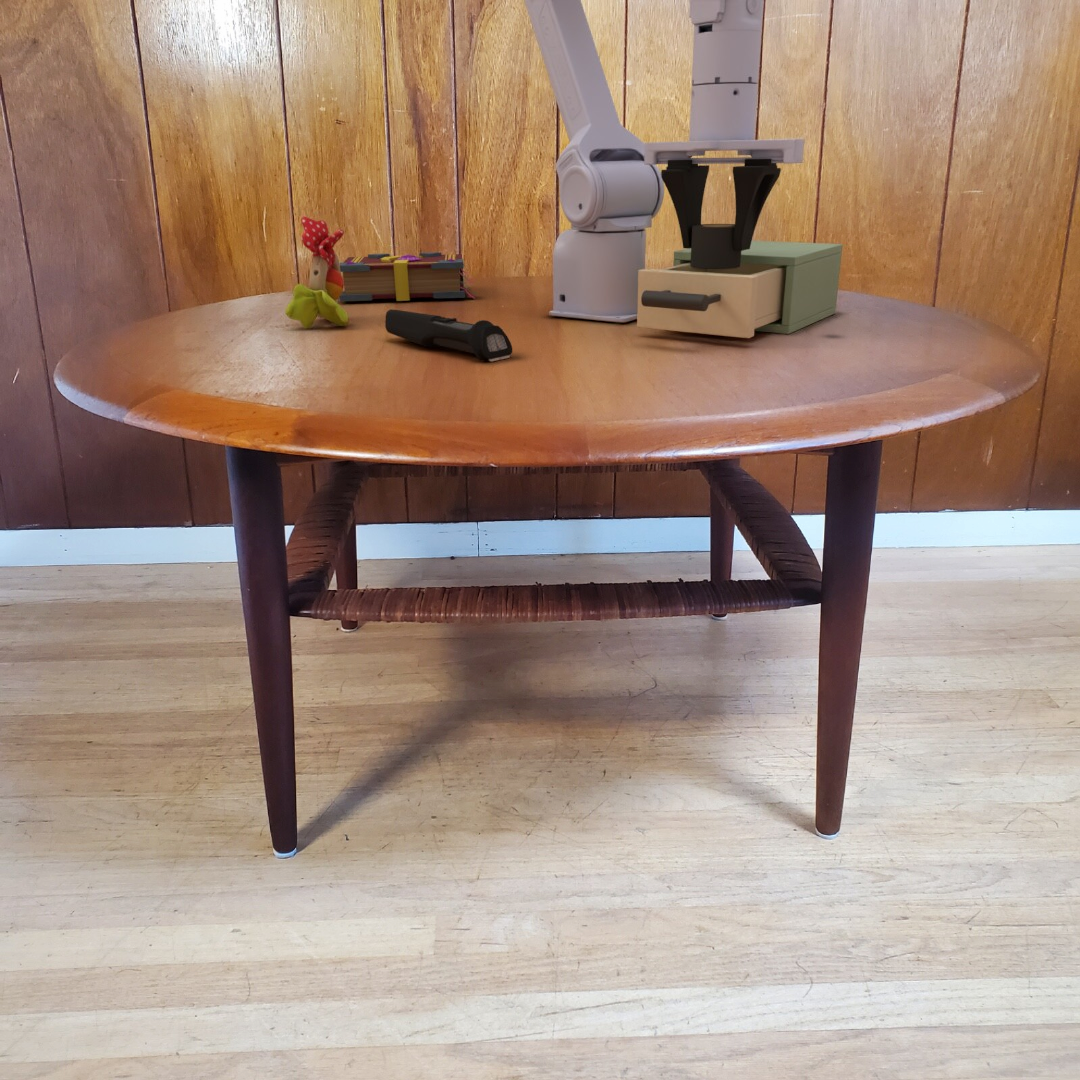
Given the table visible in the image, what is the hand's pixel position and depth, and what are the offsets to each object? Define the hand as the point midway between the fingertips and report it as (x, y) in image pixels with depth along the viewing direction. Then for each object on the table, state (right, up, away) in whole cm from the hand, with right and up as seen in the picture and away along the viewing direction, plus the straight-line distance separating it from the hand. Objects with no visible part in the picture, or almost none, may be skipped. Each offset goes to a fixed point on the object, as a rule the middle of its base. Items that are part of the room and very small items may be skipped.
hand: (715, 248), depth 85 cm
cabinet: (+6, -4, +11) cm, 13 cm away
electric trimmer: (-25, -10, -1) cm, 27 cm away
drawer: (0, -7, +3) cm, 7 cm away
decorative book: (-33, +4, +31) cm, 45 cm away
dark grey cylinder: (0, -1, +1) cm, 2 cm away
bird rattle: (-39, -4, +13) cm, 41 cm away
